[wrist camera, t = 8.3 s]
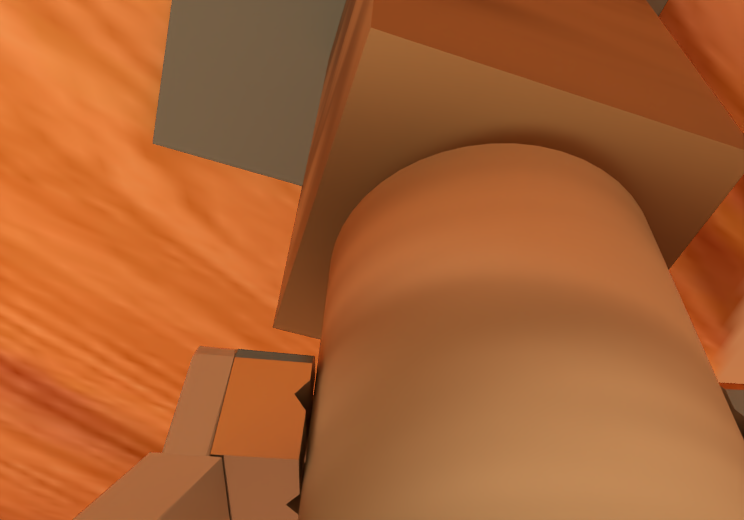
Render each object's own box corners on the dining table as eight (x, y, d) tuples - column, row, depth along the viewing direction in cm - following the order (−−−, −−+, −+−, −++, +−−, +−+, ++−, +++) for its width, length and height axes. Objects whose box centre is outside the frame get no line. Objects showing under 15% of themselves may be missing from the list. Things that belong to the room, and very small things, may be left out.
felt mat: (520, 242, 27) (521, 248, 27) (155, 137, 25) (152, 143, 25) (705, -76, 20) (710, -72, 20) (211, -266, 18) (208, -265, 17)
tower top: (527, 221, 19) (565, 400, 14) (308, 157, 18) (272, 327, 13) (651, 7, 15) (758, 154, 10) (383, -89, 14) (370, 27, 9)
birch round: (510, 421, 13) (567, 817, 9) (274, 313, 12) (189, 727, 7) (727, 248, 11) (977, 696, 6) (454, 76, 9) (507, 505, 4)
